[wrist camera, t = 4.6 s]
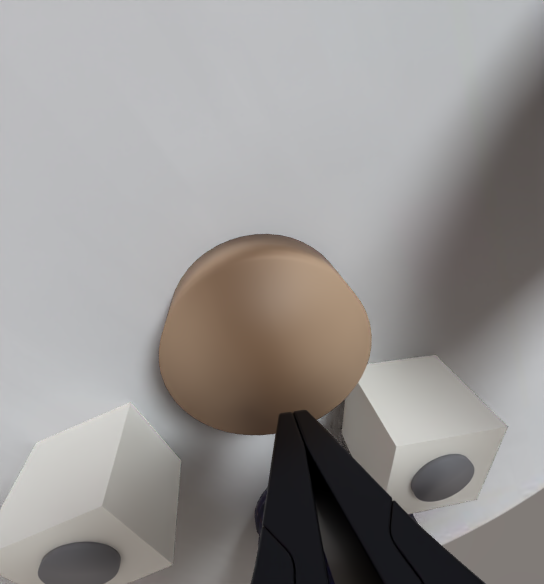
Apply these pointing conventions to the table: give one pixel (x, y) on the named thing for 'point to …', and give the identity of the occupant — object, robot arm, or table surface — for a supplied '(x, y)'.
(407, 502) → the marked cube
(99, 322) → the table surface
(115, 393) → the table surface
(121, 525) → the marked cube
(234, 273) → the beige rounded disc
